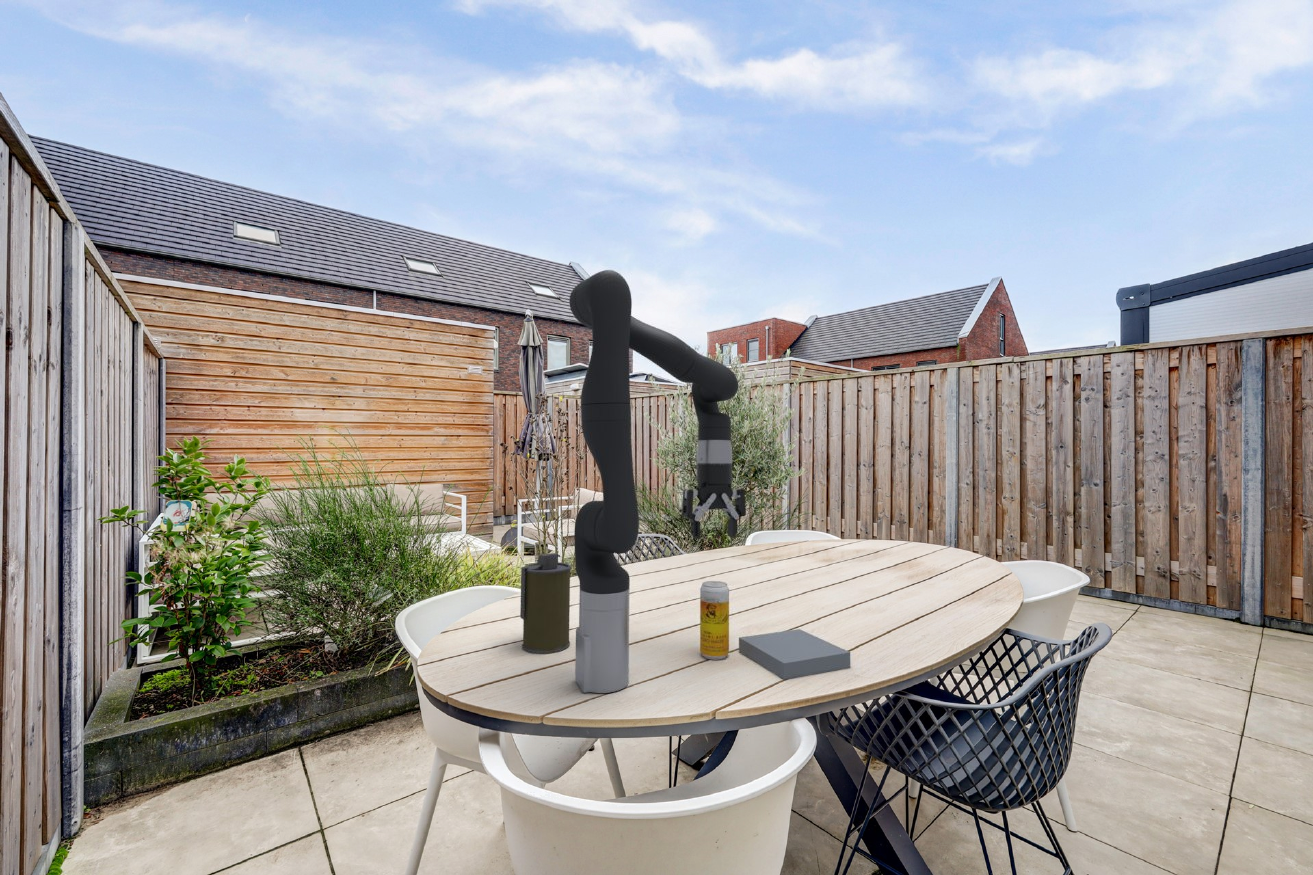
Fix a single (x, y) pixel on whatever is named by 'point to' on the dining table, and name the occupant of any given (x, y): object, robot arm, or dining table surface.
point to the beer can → (714, 620)
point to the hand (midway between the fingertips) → (714, 537)
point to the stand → (794, 653)
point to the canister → (545, 605)
